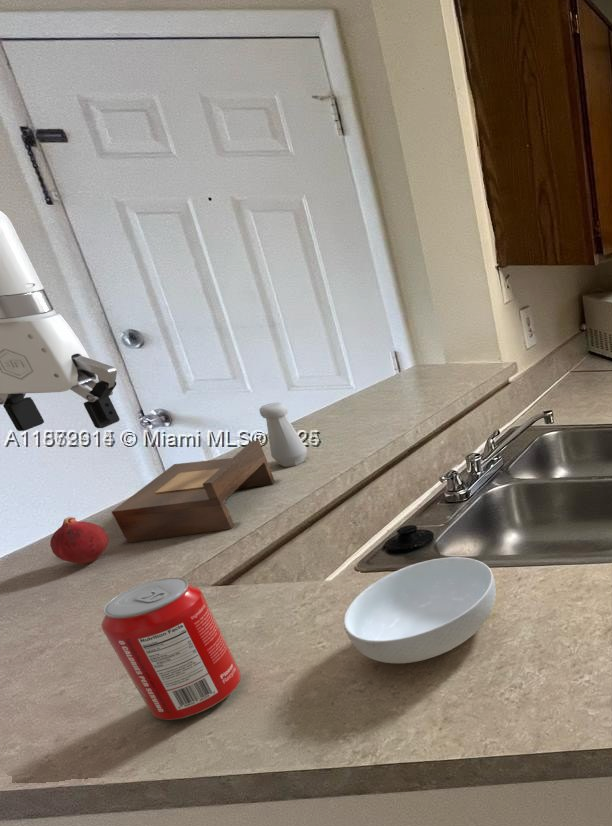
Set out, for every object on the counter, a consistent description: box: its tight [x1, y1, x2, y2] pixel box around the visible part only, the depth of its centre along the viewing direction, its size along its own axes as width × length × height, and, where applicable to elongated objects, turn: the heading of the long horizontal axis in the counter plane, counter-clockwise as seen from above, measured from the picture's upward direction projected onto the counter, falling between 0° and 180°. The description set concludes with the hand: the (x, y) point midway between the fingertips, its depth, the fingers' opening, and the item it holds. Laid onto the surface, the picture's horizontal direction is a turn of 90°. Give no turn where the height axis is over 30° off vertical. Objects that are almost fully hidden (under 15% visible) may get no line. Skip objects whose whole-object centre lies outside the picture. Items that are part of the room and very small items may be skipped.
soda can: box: [101, 577, 242, 721], centre depth 69 cm, size 8×8×15 cm
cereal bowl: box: [343, 556, 497, 664], centre depth 80 cm, size 17×17×7 cm
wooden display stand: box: [111, 440, 276, 544], centre depth 109 cm, size 14×18×9 cm
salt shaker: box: [259, 402, 308, 468], centre depth 125 cm, size 6×6×13 cm
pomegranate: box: [49, 516, 110, 564], centre depth 94 cm, size 6×6×8 cm
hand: (70, 426), depth 87 cm, fingers open, 9 cm apart
